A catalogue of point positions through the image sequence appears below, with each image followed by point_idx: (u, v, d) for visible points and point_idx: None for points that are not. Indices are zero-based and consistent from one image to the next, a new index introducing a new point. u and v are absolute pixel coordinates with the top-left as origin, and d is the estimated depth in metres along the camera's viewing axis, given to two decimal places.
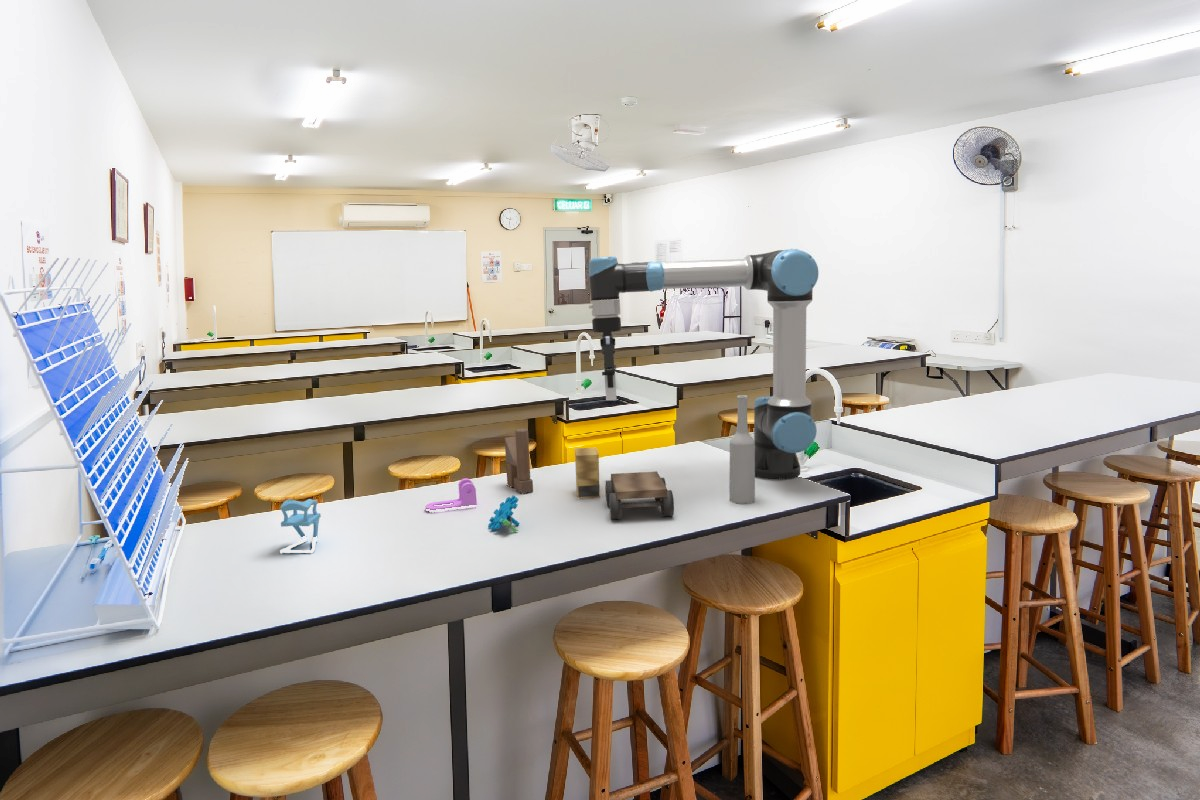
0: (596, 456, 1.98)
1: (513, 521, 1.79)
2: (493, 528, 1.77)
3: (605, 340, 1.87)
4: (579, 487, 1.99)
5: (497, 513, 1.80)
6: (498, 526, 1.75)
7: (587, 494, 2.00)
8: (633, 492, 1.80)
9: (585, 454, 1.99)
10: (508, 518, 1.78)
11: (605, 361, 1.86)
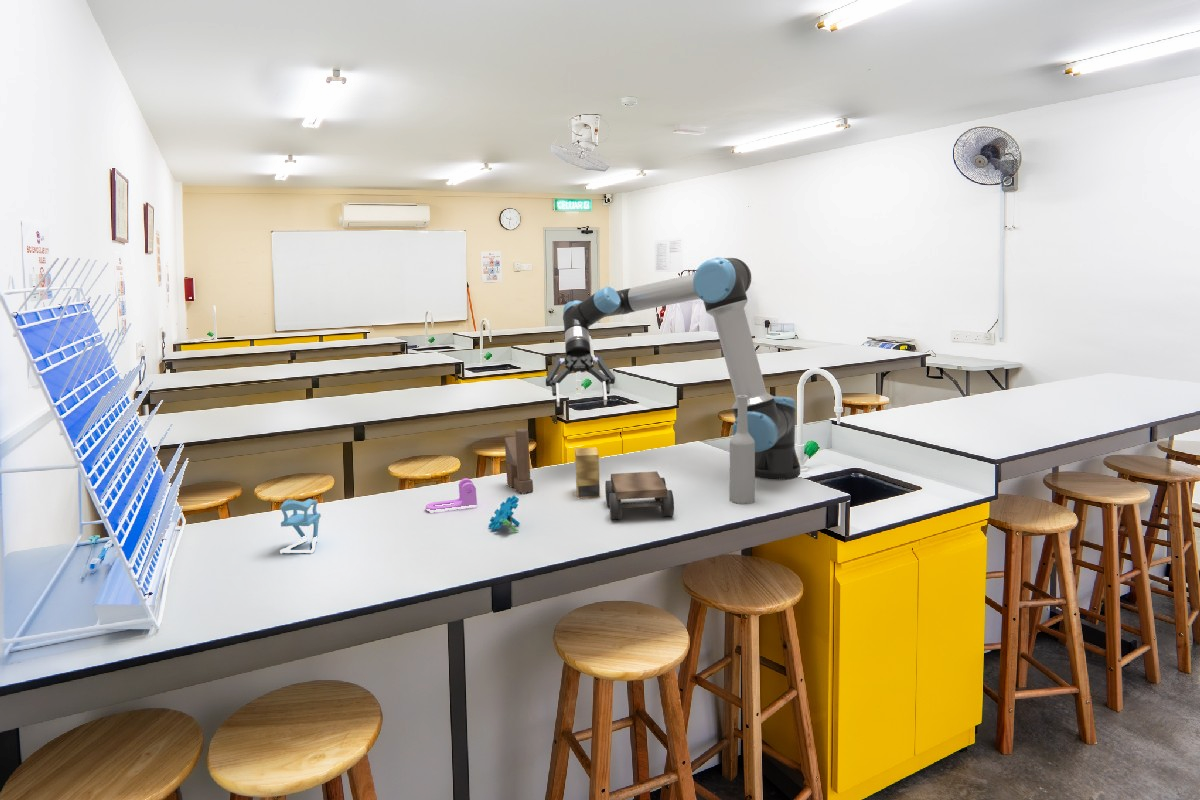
0: (596, 456, 1.98)
1: (513, 521, 1.79)
2: (493, 528, 1.77)
3: None
4: (579, 487, 1.99)
5: (497, 513, 1.80)
6: (498, 526, 1.75)
7: (587, 494, 2.00)
8: (633, 492, 1.80)
9: (585, 454, 1.99)
10: (508, 518, 1.78)
11: None
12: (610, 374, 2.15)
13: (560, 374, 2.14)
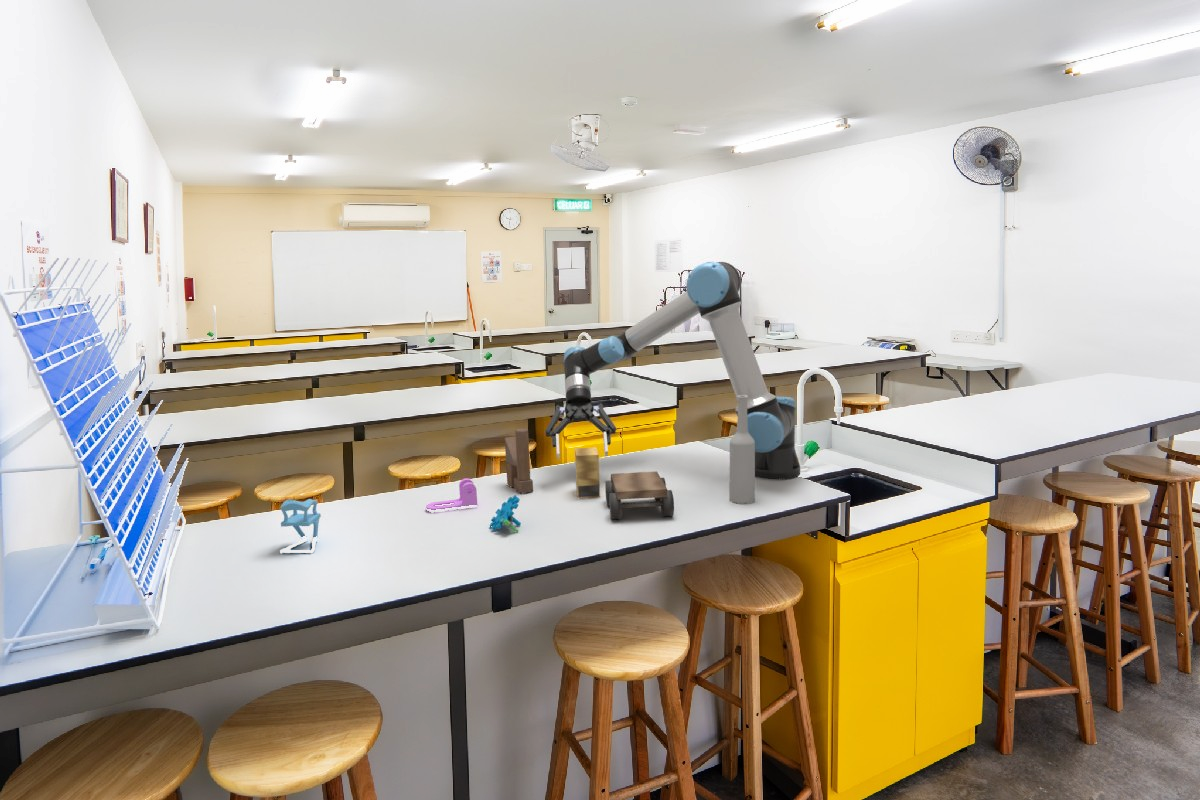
0: (596, 456, 1.98)
1: (514, 521, 1.79)
2: (494, 528, 1.77)
3: None
4: (579, 487, 1.99)
5: (499, 513, 1.80)
6: (499, 526, 1.75)
7: (587, 494, 2.00)
8: (633, 492, 1.80)
9: (585, 454, 1.99)
10: (509, 518, 1.78)
11: None
12: (611, 424, 2.11)
13: (560, 424, 2.11)
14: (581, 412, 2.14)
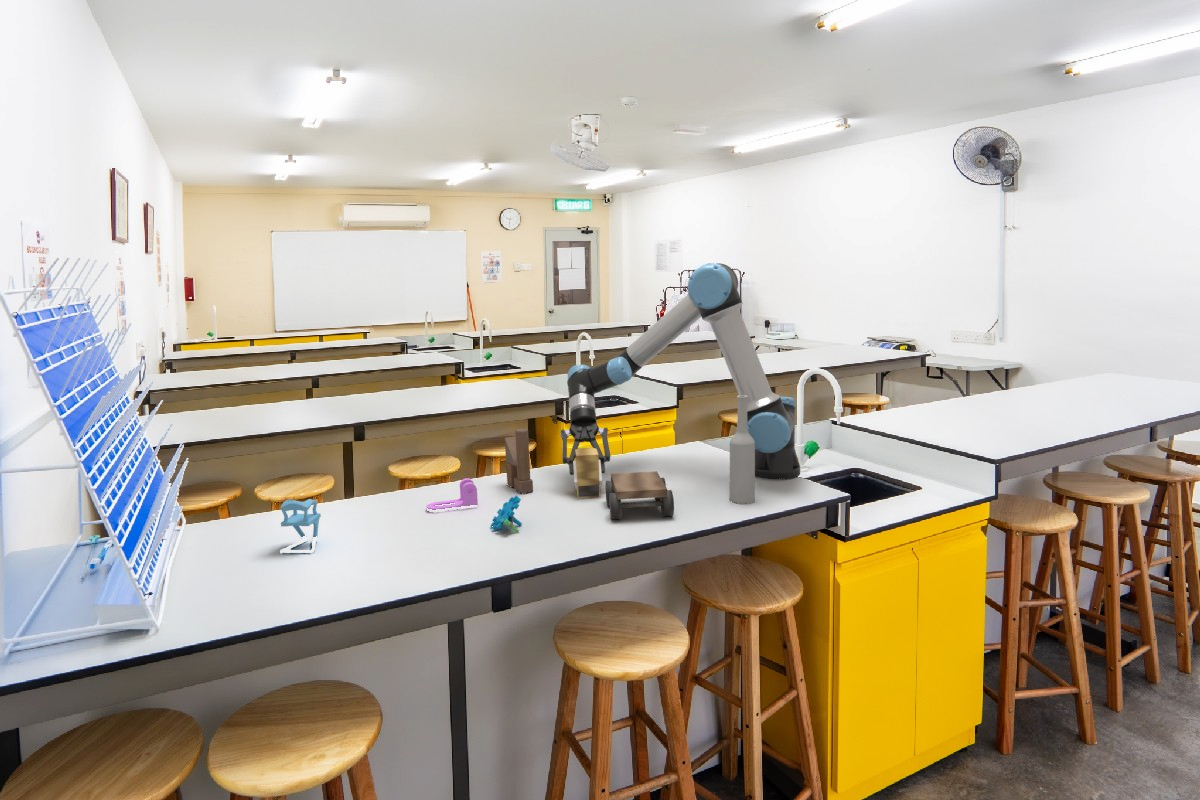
0: (596, 456, 1.98)
1: (515, 521, 1.79)
2: (495, 528, 1.77)
3: (561, 436, 2.09)
4: (579, 487, 1.99)
5: (500, 513, 1.80)
6: (499, 526, 1.75)
7: (587, 494, 2.00)
8: (633, 492, 1.80)
9: (585, 454, 1.99)
10: (510, 518, 1.78)
11: None
12: (607, 451, 2.05)
13: (573, 449, 2.04)
14: (586, 433, 2.08)
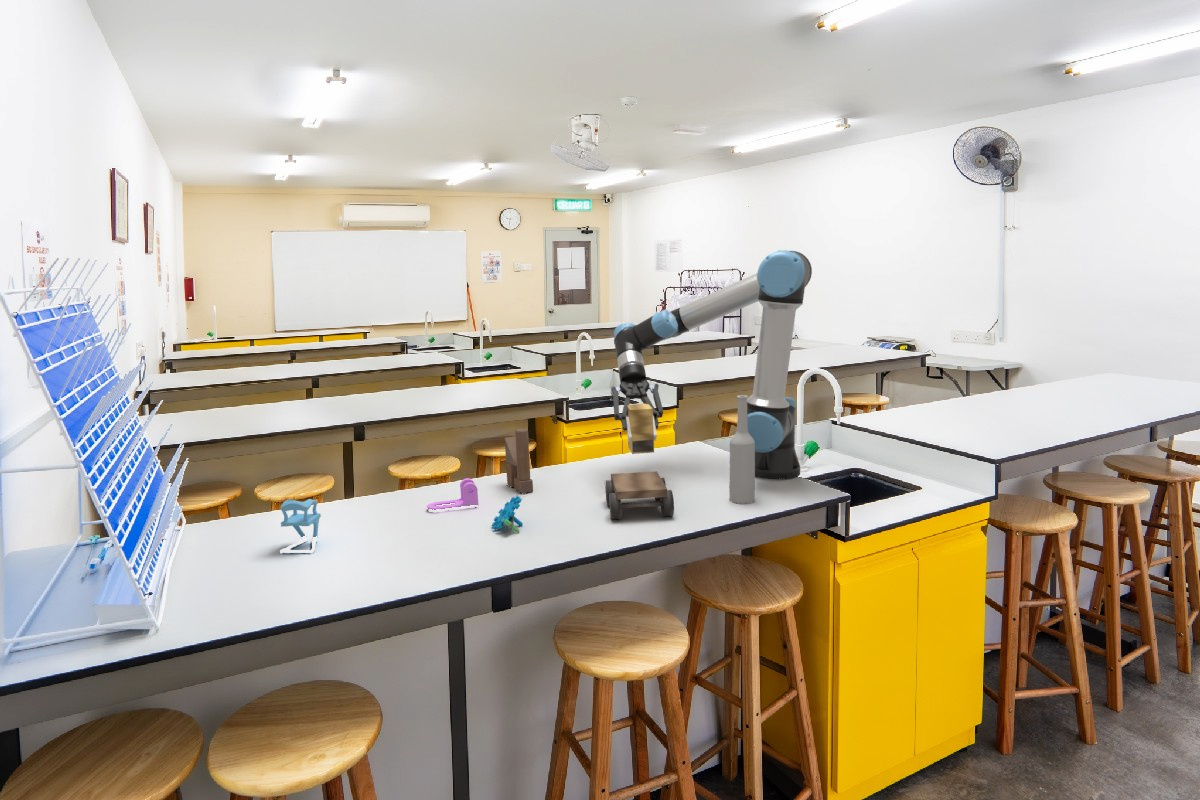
0: (650, 410, 1.96)
1: (516, 521, 1.79)
2: (495, 528, 1.77)
3: (611, 393, 2.06)
4: (633, 442, 1.97)
5: (501, 513, 1.80)
6: (500, 526, 1.75)
7: (641, 449, 1.97)
8: (633, 492, 1.80)
9: (639, 408, 1.96)
10: (511, 518, 1.78)
11: None
12: (659, 406, 2.02)
13: (625, 405, 2.02)
14: (637, 389, 2.05)
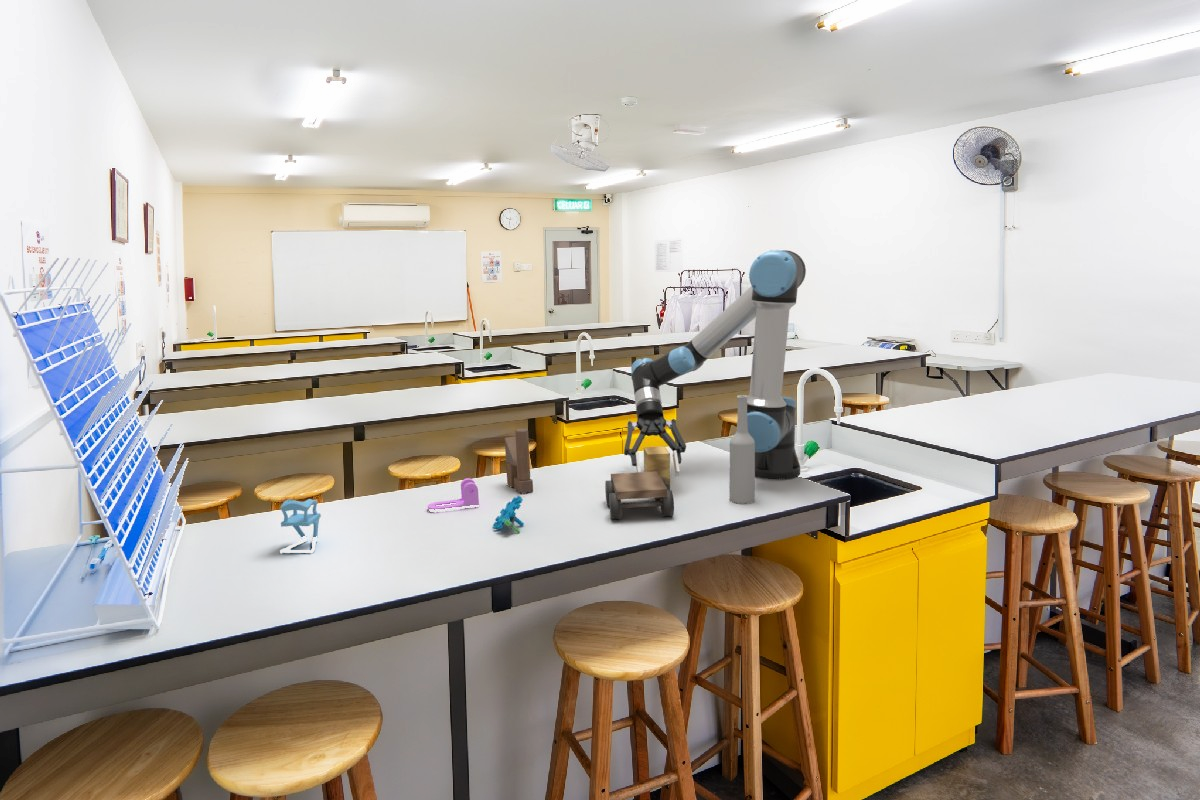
0: (667, 455, 1.97)
1: (517, 521, 1.79)
2: (496, 528, 1.77)
3: (627, 427, 2.08)
4: None
5: (502, 513, 1.80)
6: (500, 526, 1.75)
7: None
8: (633, 492, 1.80)
9: (656, 453, 1.98)
10: (511, 518, 1.78)
11: None
12: (682, 442, 2.04)
13: (637, 441, 2.03)
14: (654, 426, 2.07)
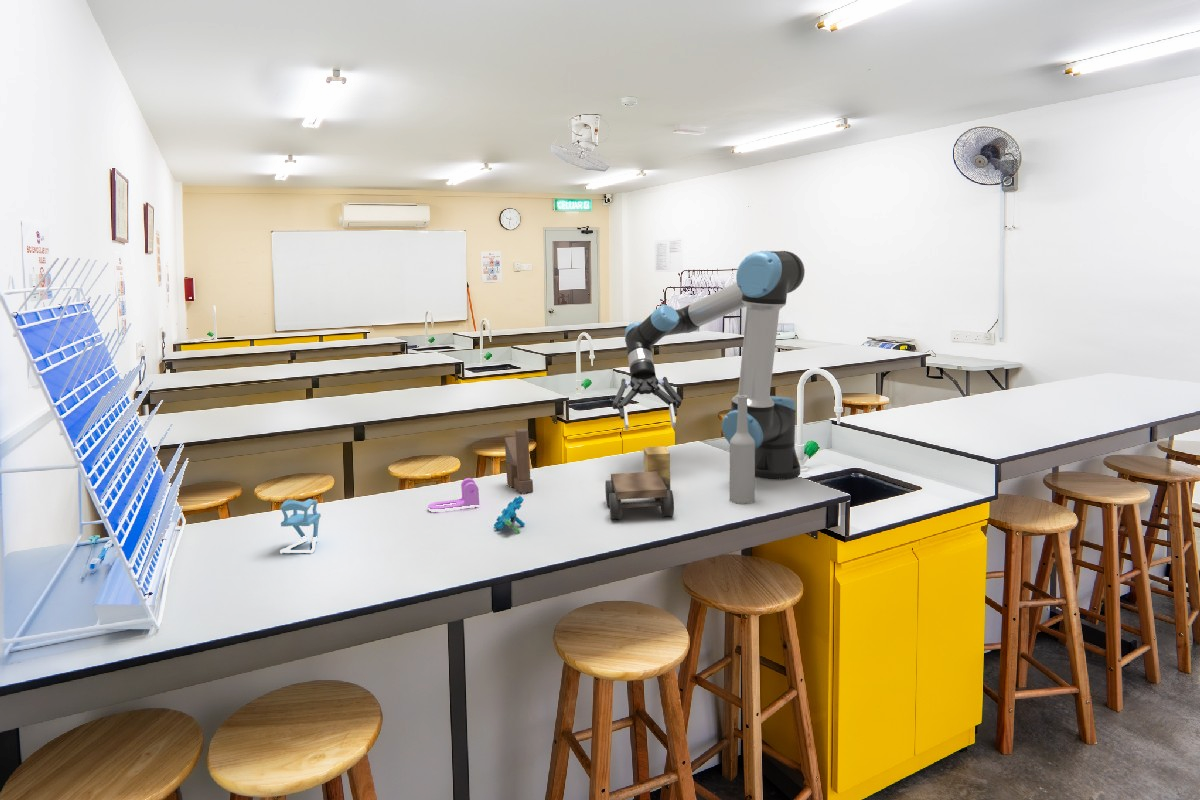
0: (667, 455, 1.97)
1: (518, 521, 1.79)
2: (497, 527, 1.77)
3: None
4: None
5: (503, 513, 1.80)
6: (501, 526, 1.75)
7: None
8: (633, 492, 1.80)
9: (656, 453, 1.98)
10: (512, 518, 1.77)
11: None
12: (677, 396, 2.15)
13: (627, 397, 2.14)
14: (646, 385, 2.17)
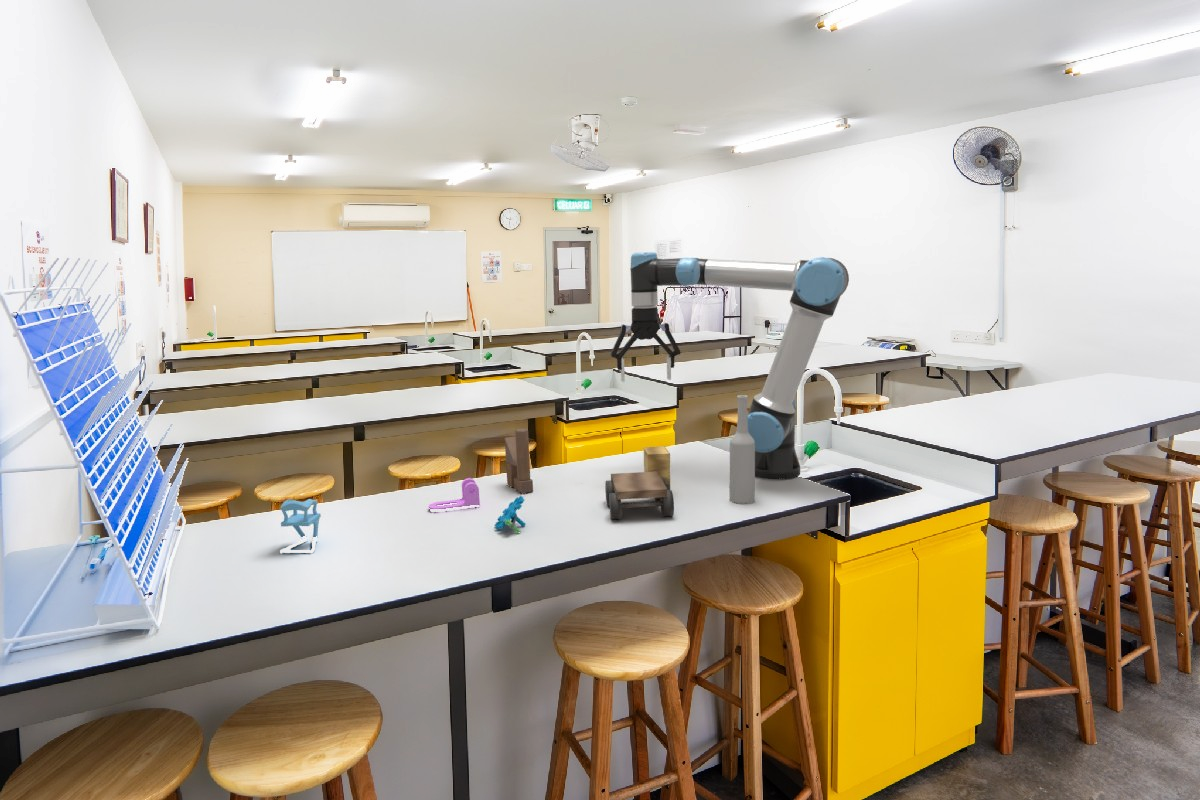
0: (667, 455, 1.97)
1: (519, 522, 1.79)
2: (497, 527, 1.77)
3: (621, 327, 2.12)
4: None
5: (504, 513, 1.80)
6: (501, 526, 1.75)
7: None
8: (633, 492, 1.80)
9: (656, 453, 1.98)
10: (513, 518, 1.77)
11: (614, 346, 2.13)
12: (676, 348, 2.13)
13: (626, 348, 2.12)
14: (647, 333, 2.12)
